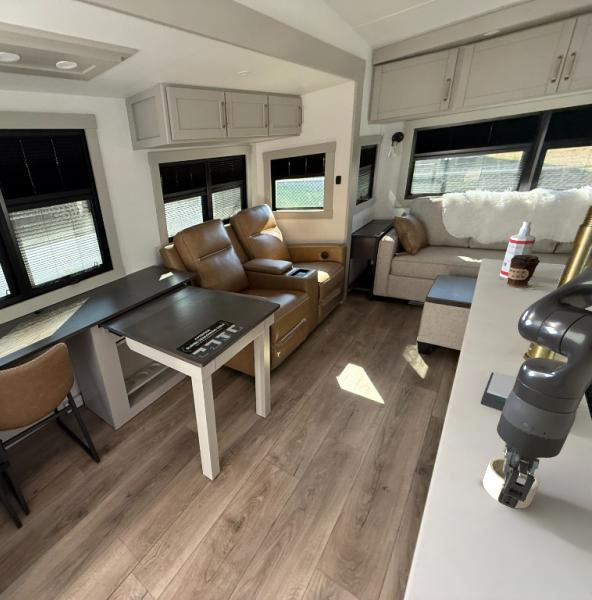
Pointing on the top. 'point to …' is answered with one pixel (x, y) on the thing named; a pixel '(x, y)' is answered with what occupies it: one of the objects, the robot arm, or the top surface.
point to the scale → (497, 390)
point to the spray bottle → (518, 247)
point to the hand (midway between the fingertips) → (506, 488)
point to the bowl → (496, 478)
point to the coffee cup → (522, 270)
